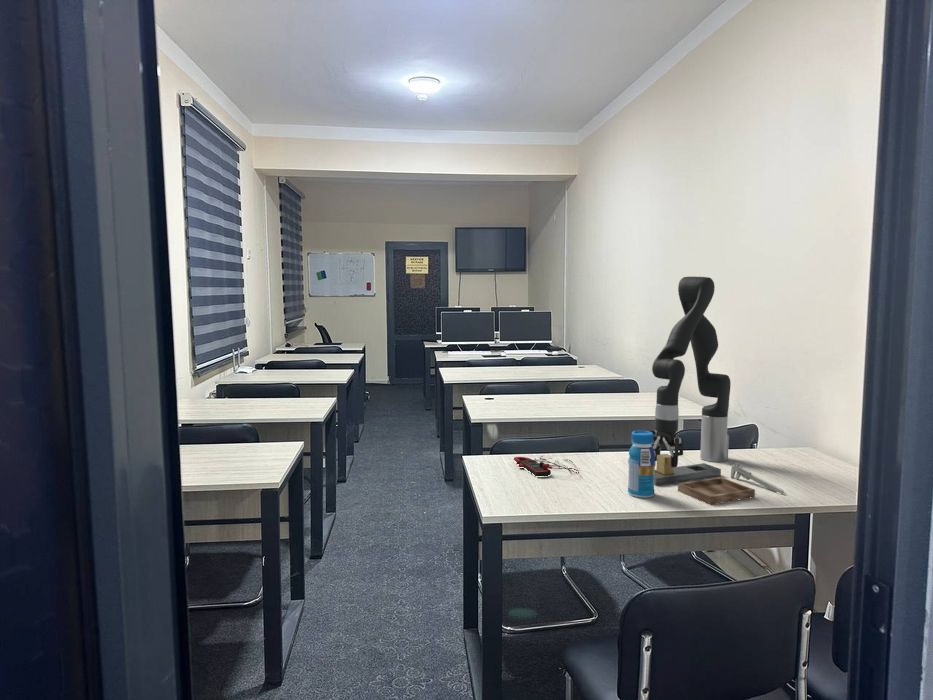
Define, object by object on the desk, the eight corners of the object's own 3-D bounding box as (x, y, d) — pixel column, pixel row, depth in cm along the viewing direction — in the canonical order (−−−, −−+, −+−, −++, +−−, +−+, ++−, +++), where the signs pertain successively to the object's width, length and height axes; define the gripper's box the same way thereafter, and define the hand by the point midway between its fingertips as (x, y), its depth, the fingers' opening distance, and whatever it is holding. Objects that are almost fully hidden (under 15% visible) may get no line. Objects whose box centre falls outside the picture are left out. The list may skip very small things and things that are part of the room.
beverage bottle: (622, 494, 191) (624, 433, 189) (634, 488, 198) (635, 428, 196) (648, 500, 186) (649, 437, 184) (659, 493, 192) (660, 432, 190)
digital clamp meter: (537, 470, 205) (509, 451, 228) (536, 483, 205) (509, 463, 229) (597, 463, 212) (564, 446, 236) (597, 476, 213) (564, 457, 236)
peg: (665, 477, 209) (666, 453, 208) (673, 480, 205) (674, 456, 204) (656, 478, 208) (656, 454, 207) (663, 482, 204) (664, 457, 203)
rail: (703, 469, 218) (704, 463, 218) (720, 476, 210) (720, 469, 210) (640, 478, 208) (640, 471, 207) (655, 485, 200) (656, 478, 200)
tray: (720, 484, 201) (720, 477, 201) (754, 497, 188) (754, 489, 188) (677, 490, 195) (678, 483, 195) (710, 505, 182) (710, 496, 182)
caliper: (730, 478, 208) (731, 461, 208) (732, 478, 209) (733, 460, 208) (785, 496, 190) (785, 477, 190) (787, 495, 191) (788, 476, 190)
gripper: (690, 420, 199) (688, 468, 200) (661, 412, 212) (660, 457, 214) (672, 421, 196) (670, 470, 198) (644, 414, 209) (642, 459, 211)
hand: (665, 463), depth 206 cm, fingers open, 8 cm apart
